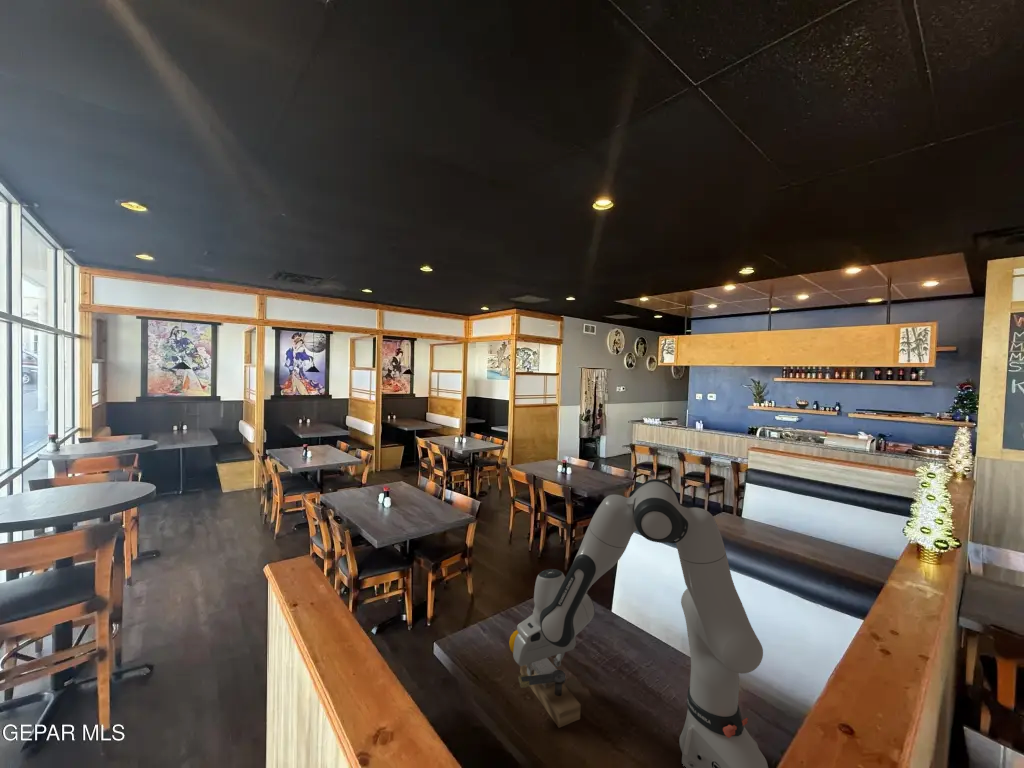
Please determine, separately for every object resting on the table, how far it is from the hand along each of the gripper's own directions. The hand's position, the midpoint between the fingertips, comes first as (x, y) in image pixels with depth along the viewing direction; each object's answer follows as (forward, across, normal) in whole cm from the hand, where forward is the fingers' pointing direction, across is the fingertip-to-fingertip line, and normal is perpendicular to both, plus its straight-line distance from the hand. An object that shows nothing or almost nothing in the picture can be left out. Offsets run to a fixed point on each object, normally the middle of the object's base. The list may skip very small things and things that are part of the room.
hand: (543, 669), depth 123 cm
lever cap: (+2, -1, 0) cm, 2 cm away
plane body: (+6, -1, +2) cm, 7 cm away
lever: (-2, +4, +6) cm, 7 cm away
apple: (+7, -2, -17) cm, 18 cm away
